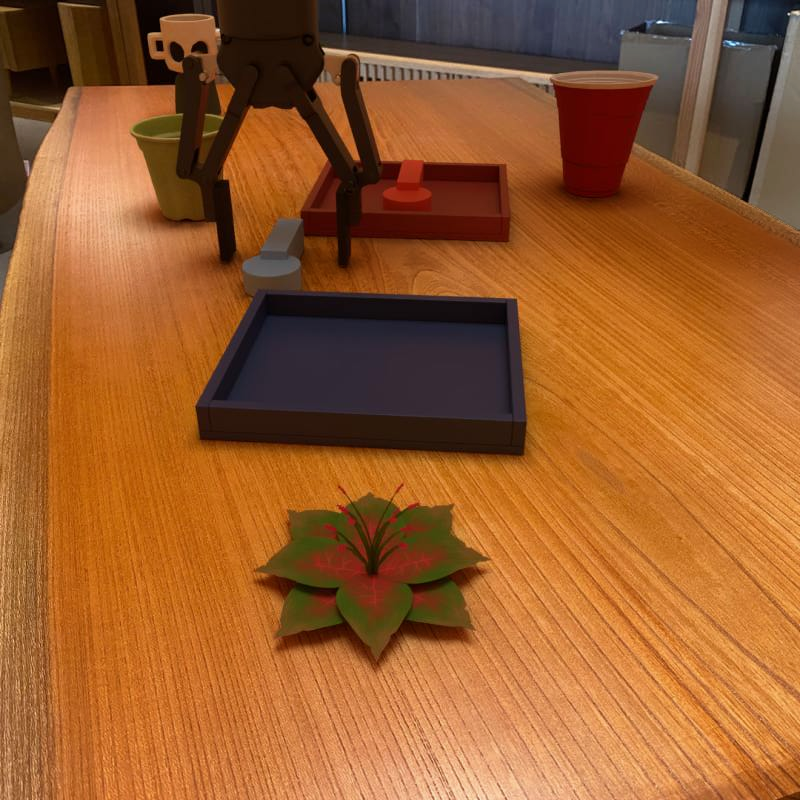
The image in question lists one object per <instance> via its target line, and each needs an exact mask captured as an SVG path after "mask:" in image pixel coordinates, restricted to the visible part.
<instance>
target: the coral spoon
mask: <svg viewBox="0 0 800 800" xmlns="http://www.w3.org/2000/svg"><path fill="white" fill-rule="evenodd" d="M402 161H403V162H402V166H401V169H400V173H399V176H398V180H397V187H392V188H389V189H387V190H385V191H384V192H383V211H417V212H431V200H432V194H431V192H430V191H429V190H427V189H425V188H423V169H424V162H425V161H424V159H403V160H402Z"/></svg>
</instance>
